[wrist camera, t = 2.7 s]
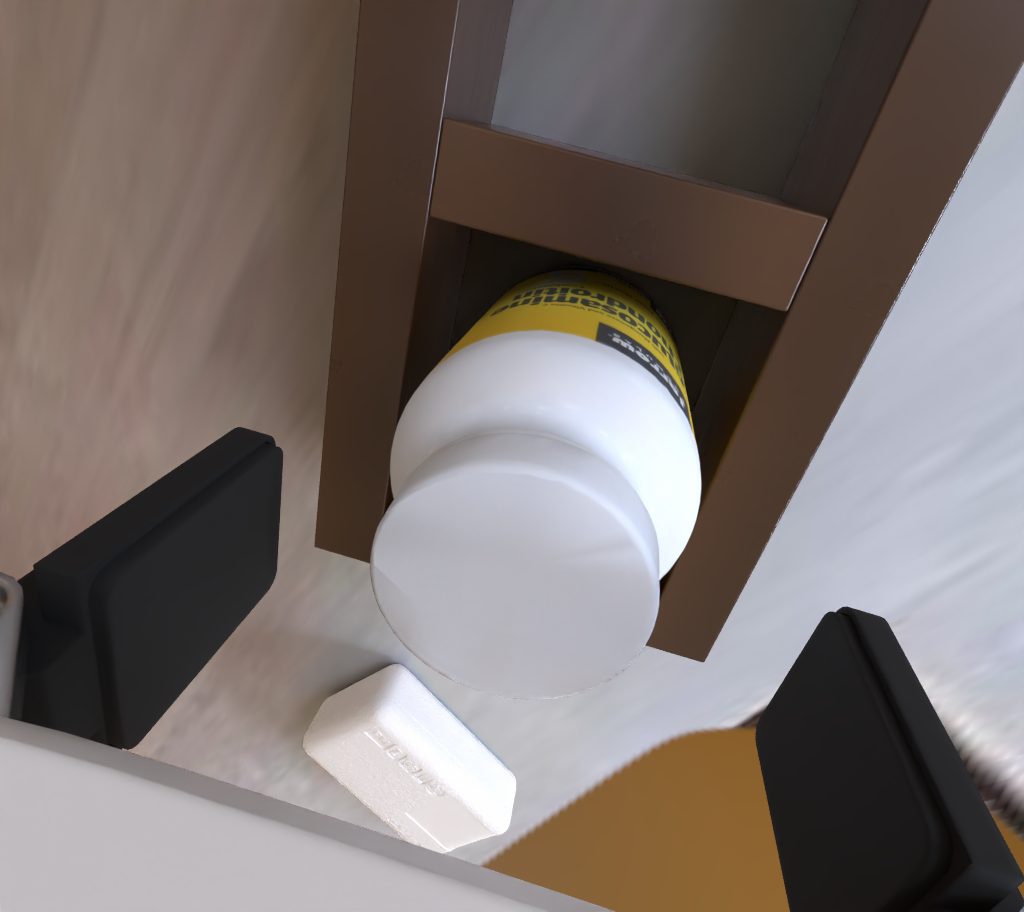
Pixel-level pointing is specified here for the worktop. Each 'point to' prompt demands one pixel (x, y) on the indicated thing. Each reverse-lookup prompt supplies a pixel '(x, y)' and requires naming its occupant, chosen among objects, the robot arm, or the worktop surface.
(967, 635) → the worktop surface
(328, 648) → the worktop surface
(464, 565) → the pill bottle
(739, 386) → the brown divided wooden tray
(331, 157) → the worktop surface
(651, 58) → the worktop surface
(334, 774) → the soap
